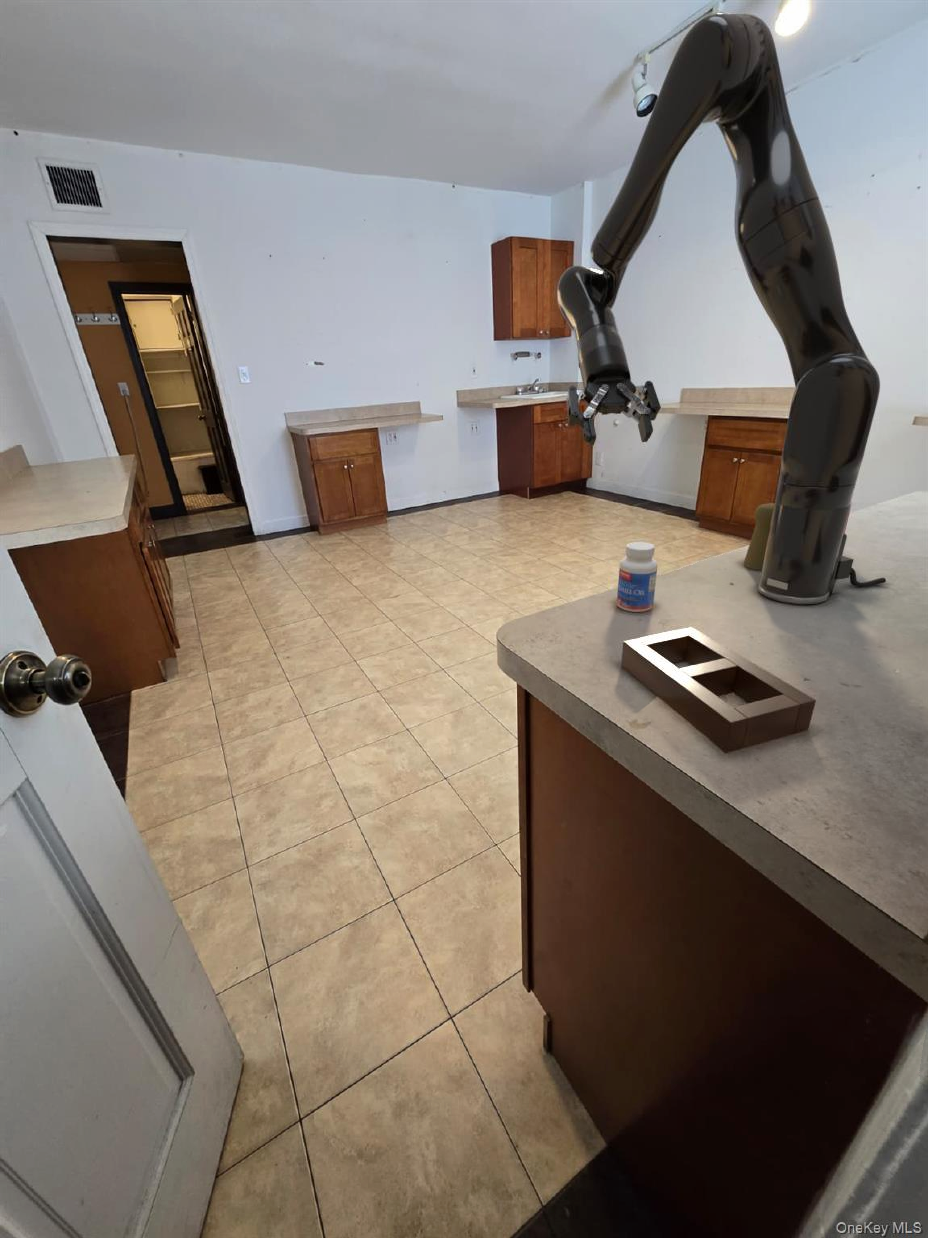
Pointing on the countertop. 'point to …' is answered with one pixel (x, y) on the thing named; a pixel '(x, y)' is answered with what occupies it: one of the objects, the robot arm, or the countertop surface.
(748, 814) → the countertop surface
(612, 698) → the countertop surface
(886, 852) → the countertop surface
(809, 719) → the socket block
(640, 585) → the pill bottle
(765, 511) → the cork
